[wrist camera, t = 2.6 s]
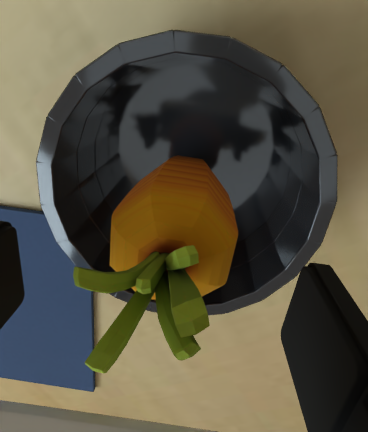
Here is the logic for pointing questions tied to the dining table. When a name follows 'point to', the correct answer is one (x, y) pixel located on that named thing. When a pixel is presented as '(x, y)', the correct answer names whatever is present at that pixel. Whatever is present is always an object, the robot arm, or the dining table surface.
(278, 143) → the pot
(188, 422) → the dining table surface
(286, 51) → the dining table surface
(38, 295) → the towel
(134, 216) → the carrot
